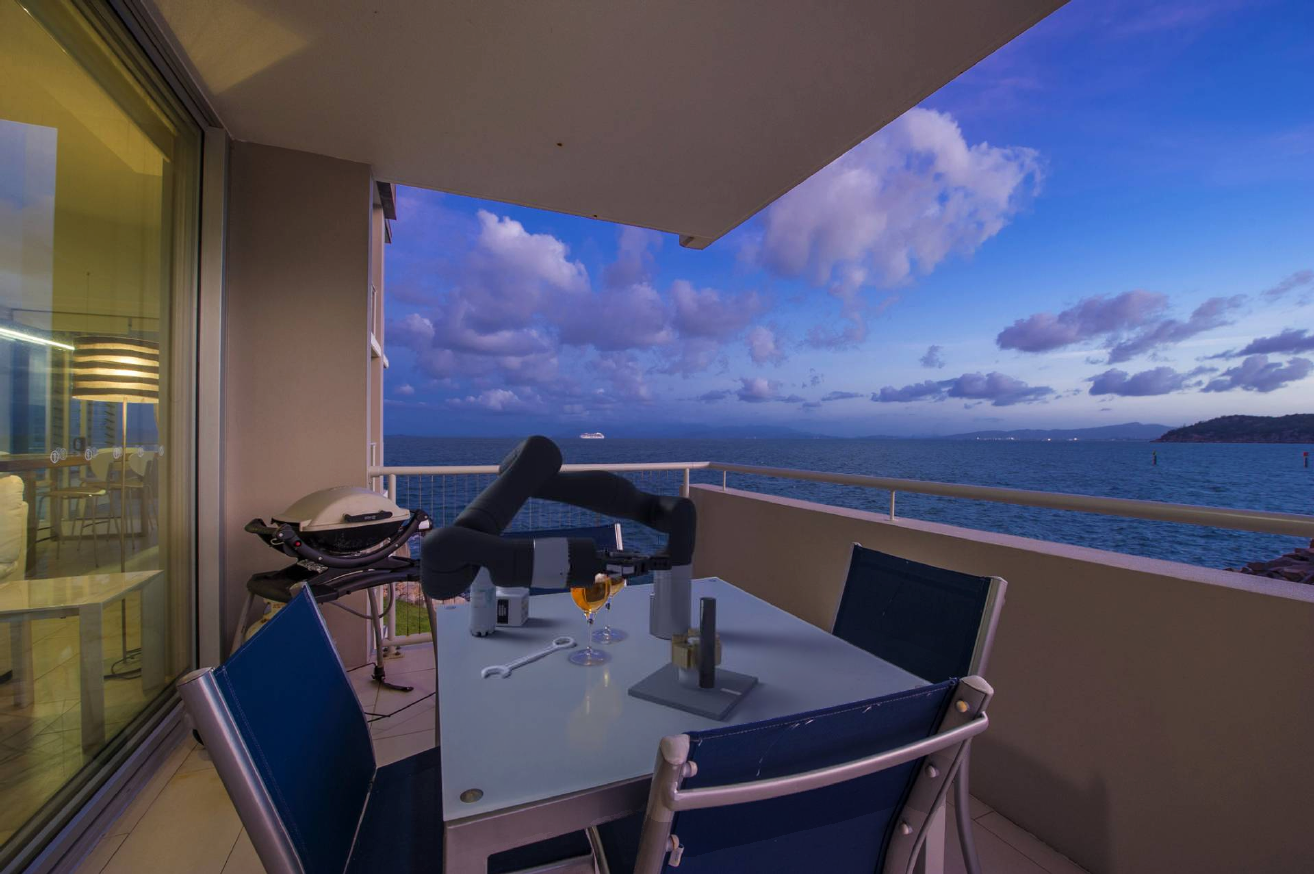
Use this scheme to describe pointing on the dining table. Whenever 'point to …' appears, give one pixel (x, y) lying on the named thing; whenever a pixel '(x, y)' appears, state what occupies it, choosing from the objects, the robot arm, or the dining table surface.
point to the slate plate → (694, 690)
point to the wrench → (528, 658)
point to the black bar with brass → (699, 646)
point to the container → (512, 606)
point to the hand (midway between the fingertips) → (670, 562)
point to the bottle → (482, 604)
